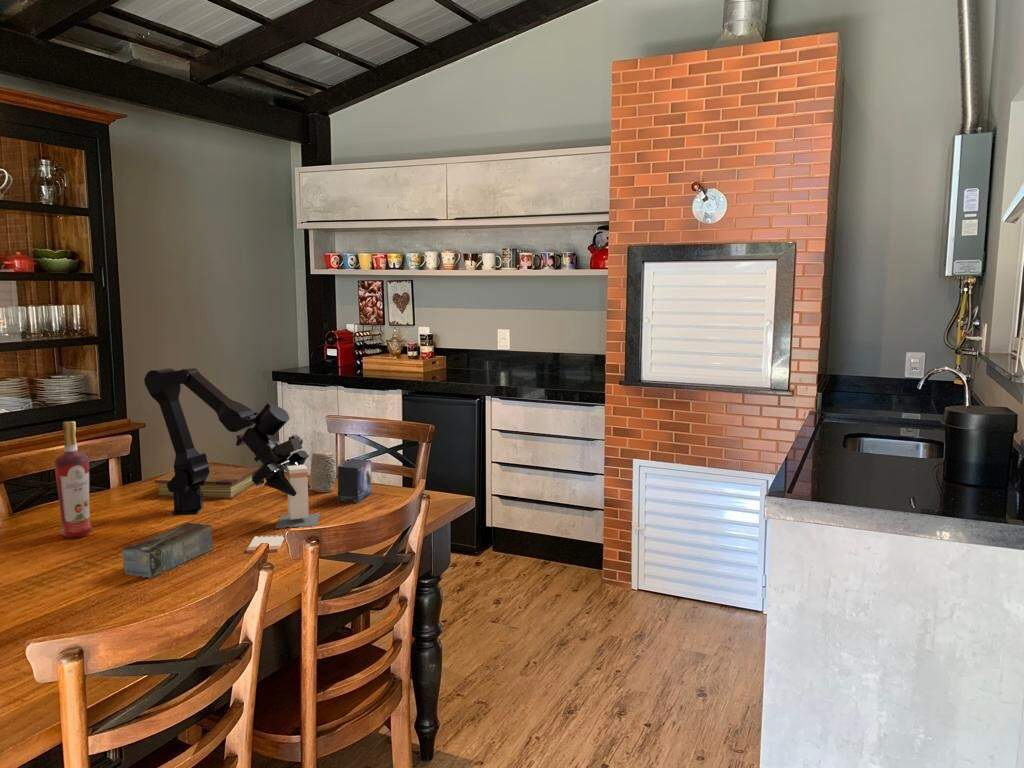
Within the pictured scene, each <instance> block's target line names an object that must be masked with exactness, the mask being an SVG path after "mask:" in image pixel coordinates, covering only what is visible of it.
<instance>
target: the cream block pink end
mask: <svg viewBox="0 0 1024 768" xmlns="http://www.w3.org/2000/svg"><path fill="white" fill-rule="evenodd" d="M283 535H284V534H279V535H278V534H277V535H257V536H256V535H255V536H254V537H253V539H252V540H251V542H250V544H249V545H248V547H246V549H245V554H254V553H253V552H254V550H255V549H256V548H257V547H258V546H259V545H260V544H261V543H268V544H269V552H268V553H277V552H279V550H280V548H281V546H282V544H283V542H284V540H285V538H284V537H283Z"/></svg>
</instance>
